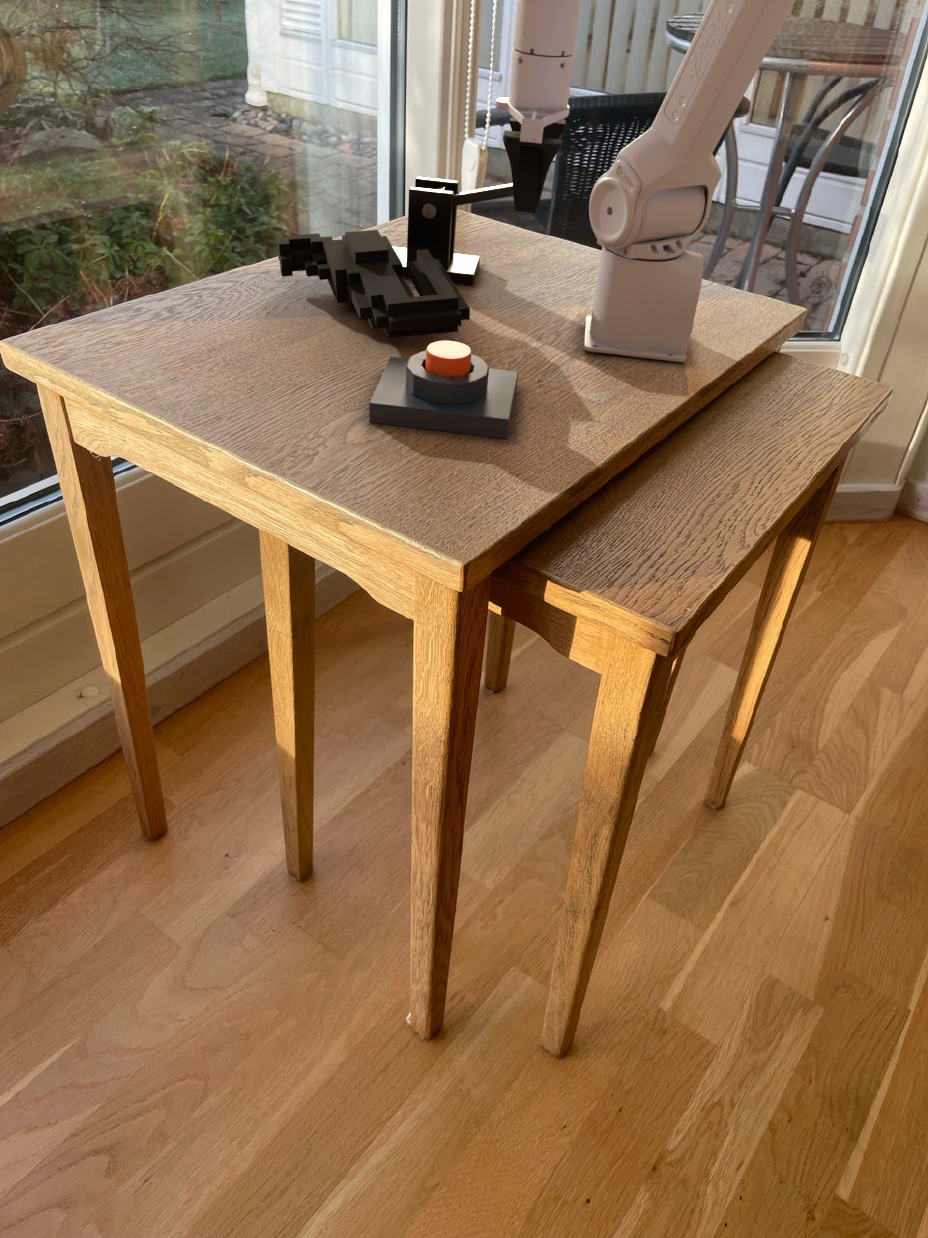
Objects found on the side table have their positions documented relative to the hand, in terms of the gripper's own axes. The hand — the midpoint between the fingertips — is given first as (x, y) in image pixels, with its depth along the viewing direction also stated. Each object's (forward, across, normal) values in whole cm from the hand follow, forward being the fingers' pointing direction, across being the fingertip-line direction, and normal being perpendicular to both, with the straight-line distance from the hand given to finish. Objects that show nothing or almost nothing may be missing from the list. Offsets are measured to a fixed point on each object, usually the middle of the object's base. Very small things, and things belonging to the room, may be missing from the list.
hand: (527, 202), depth 100 cm
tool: (+8, +13, -14) cm, 20 cm away
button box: (+8, +31, -4) cm, 32 cm away
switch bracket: (+8, 0, -10) cm, 13 cm away
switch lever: (+1, 0, -5) cm, 5 cm away
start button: (+5, +31, -4) cm, 32 cm away
